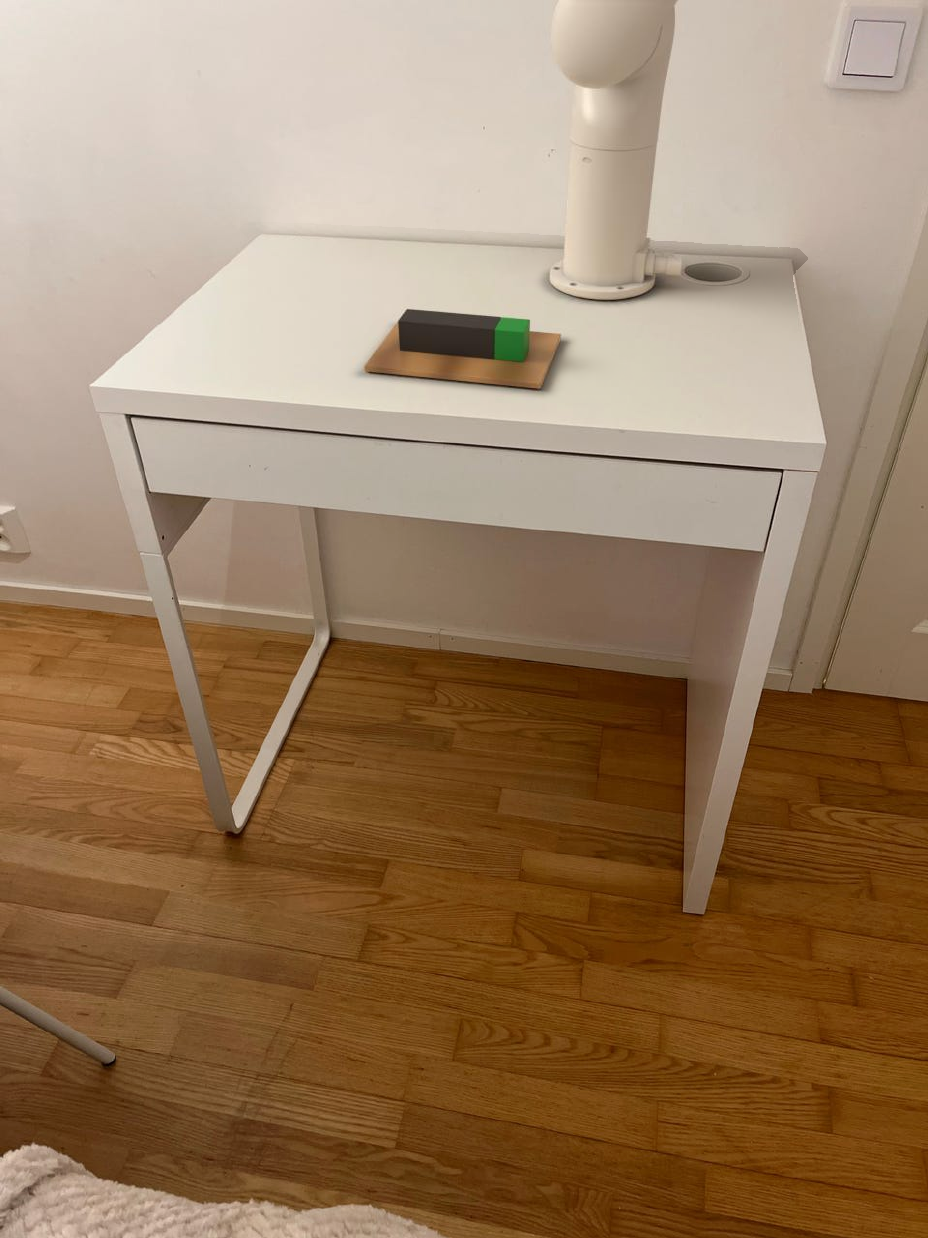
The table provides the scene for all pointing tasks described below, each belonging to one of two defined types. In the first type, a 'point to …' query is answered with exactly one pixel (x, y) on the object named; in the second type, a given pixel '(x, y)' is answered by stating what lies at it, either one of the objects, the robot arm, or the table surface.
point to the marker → (464, 335)
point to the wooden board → (468, 363)
